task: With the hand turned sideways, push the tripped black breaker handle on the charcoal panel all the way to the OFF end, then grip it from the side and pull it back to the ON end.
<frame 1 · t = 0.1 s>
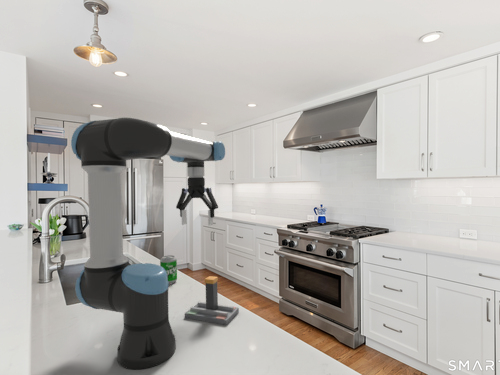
hand: (197, 224, 130), 28 cm above the countertop, tool pointing down, fingers open, 13 cm apart
breaker panel: (212, 314, 102), on the countertop
breaker handle: (211, 293, 102), point 7 cm above the countertop, slide at 0.0 cm
soda can: (168, 282, 137), on the countertop
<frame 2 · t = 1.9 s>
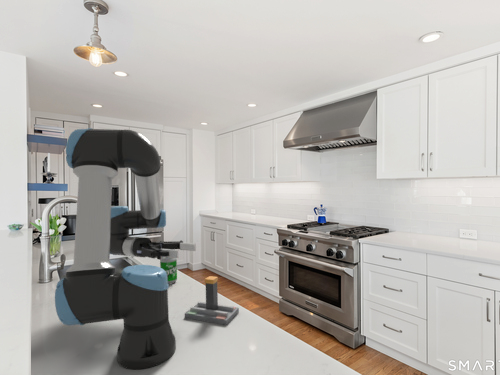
hand: (186, 250, 105), 22 cm above the countertop, tool horizontal, fingers open, 10 cm apart
nothing on the countertop moved.
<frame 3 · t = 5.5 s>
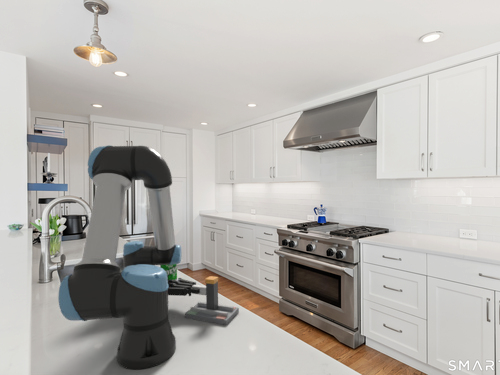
hand: (208, 291, 103), 8 cm above the countertop, tool horizontal, fingers closed
breaker handle: (212, 293, 102), point 7 cm above the countertop, slide at -0.2 cm, touching gripper
everything else where it was.
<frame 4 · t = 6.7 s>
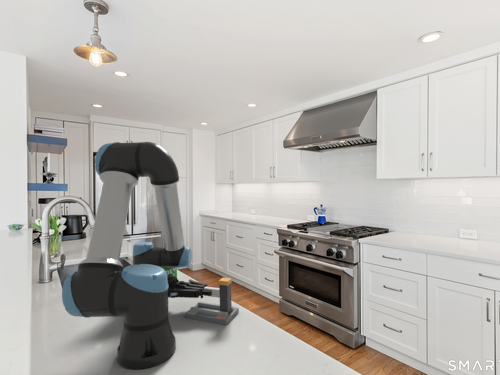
hand: (221, 293, 101), 8 cm above the countertop, tool horizontal, fingers closed
breaker handle: (225, 295, 100), point 7 cm above the countertop, slide at -5.4 cm, touching gripper
everything else where it was.
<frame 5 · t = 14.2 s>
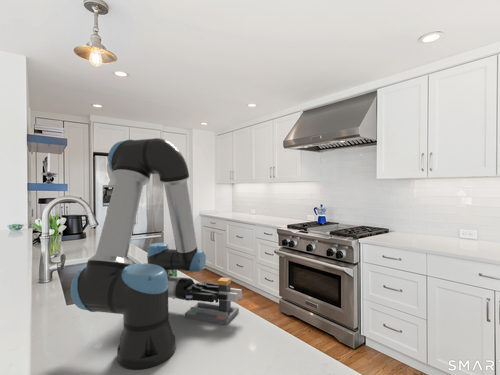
hand: (239, 295, 98), 8 cm above the countertop, tool horizontal, fingers closed on breaker handle, 3 cm apart
breaker handle: (224, 295, 100), point 7 cm above the countertop, slide at -5.0 cm, touching gripper
everything else where it was.
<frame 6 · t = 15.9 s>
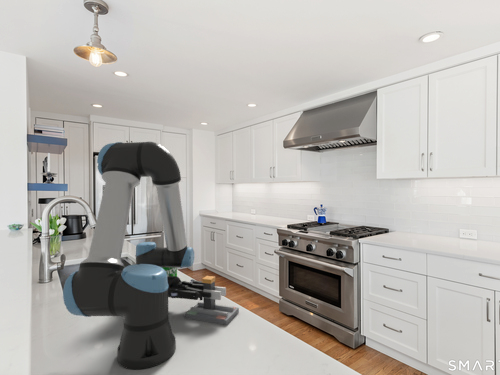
hand: (222, 293, 100), 8 cm above the countertop, tool horizontal, fingers closed on breaker handle, 3 cm apart
breaker handle: (209, 293, 102), point 7 cm above the countertop, slide at 1.0 cm, touching gripper
everything else where it was.
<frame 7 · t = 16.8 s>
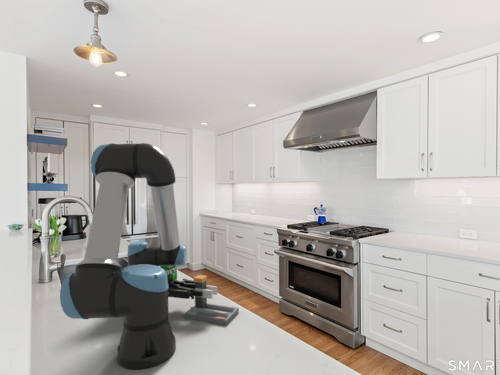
hand: (214, 292, 102), 8 cm above the countertop, tool horizontal, fingers closed on breaker handle, 3 cm apart
breaker handle: (200, 292, 104), point 7 cm above the countertop, slide at 4.4 cm, touching gripper
everything else where it was.
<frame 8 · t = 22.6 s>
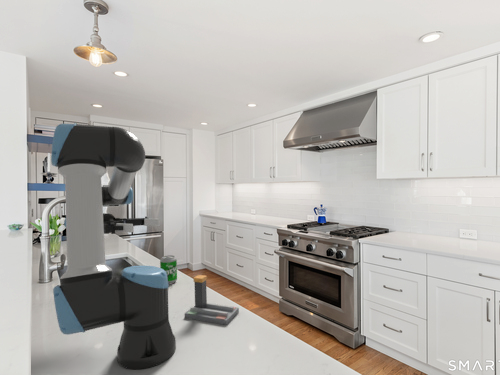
hand: (146, 225, 102), 32 cm above the countertop, tool horizontal, fingers open, 13 cm apart
breaker handle: (200, 292, 104), point 7 cm above the countertop, slide at 4.4 cm
everything else where it was.
at the end: breaker handle slide at 4.4 cm; the gripper is holding nothing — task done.
